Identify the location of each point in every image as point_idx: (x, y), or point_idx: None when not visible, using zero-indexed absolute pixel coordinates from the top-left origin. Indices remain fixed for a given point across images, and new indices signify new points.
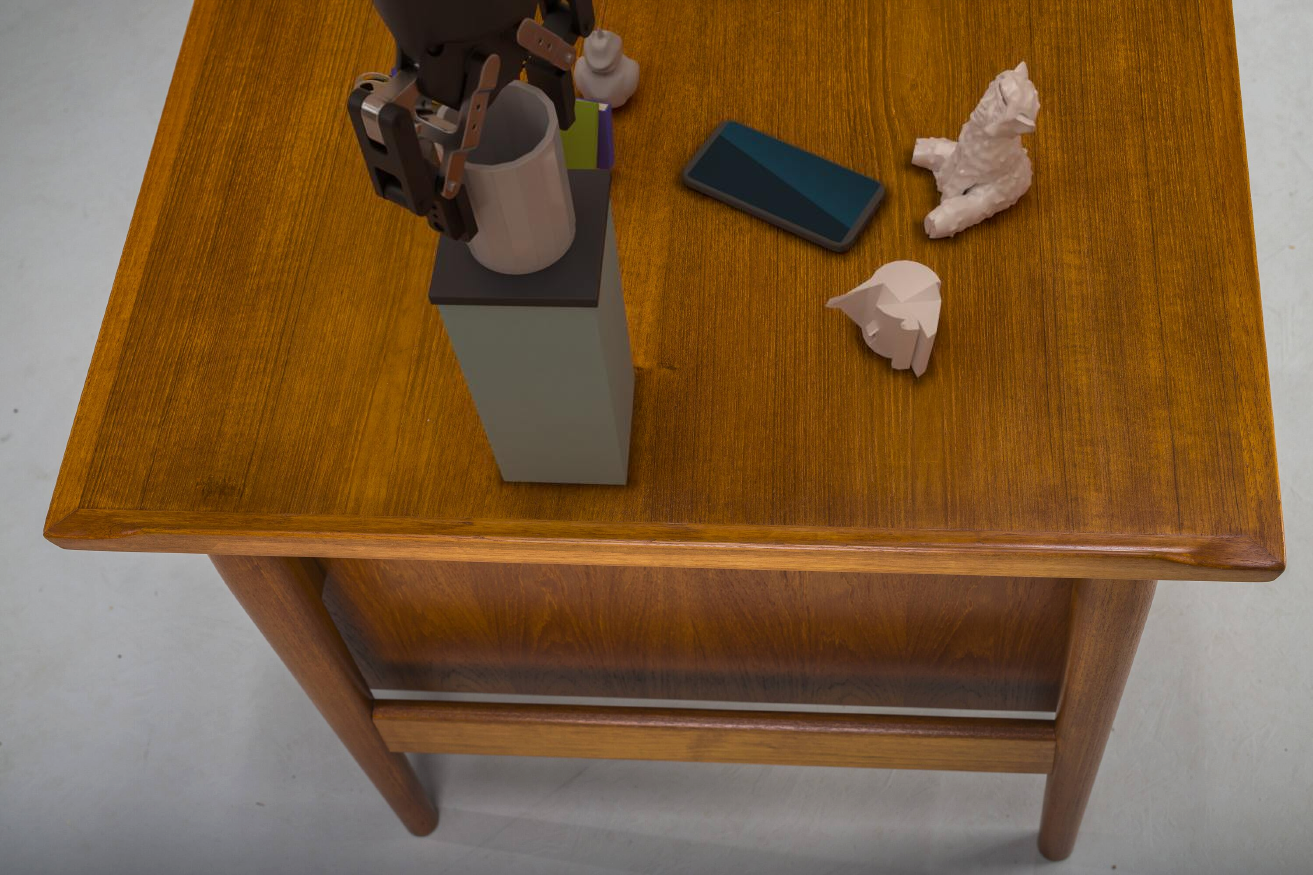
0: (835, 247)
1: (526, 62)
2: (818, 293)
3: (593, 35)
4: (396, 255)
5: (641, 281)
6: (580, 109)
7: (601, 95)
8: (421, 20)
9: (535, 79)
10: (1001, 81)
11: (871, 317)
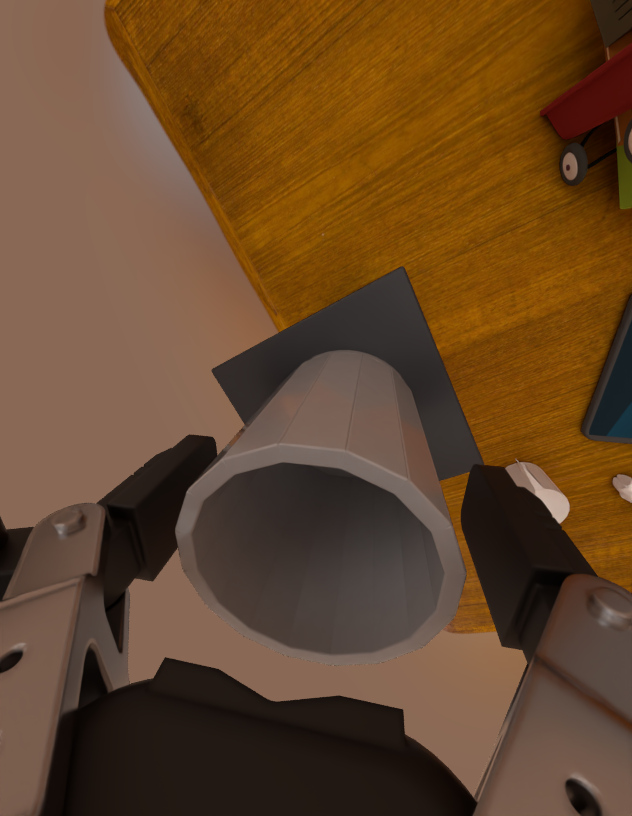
0: (584, 431)
1: (539, 570)
2: (537, 430)
3: None
4: (460, 66)
5: (507, 311)
6: None
7: None
8: None
9: (508, 554)
10: None
11: (517, 482)
